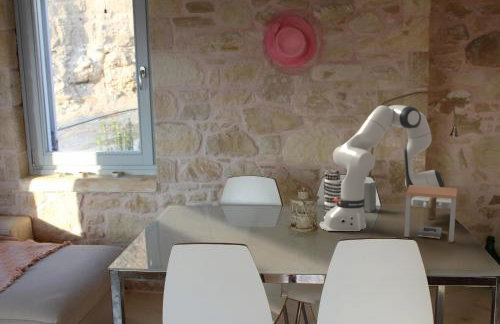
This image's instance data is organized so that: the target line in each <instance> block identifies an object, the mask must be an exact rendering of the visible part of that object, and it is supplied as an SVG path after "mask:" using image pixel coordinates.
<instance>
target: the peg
mask: <svg viewBox="0 0 500 324" xmlns="http://www.w3.org/2000/svg"><path fill="white" fill-rule="evenodd" d="M436 199H437V198H434V197H429V205H428V208H427V209H428V210H427V220H428V221H433V222H434V221H436V219H437V218H436V213H437V209H436Z"/></svg>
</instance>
